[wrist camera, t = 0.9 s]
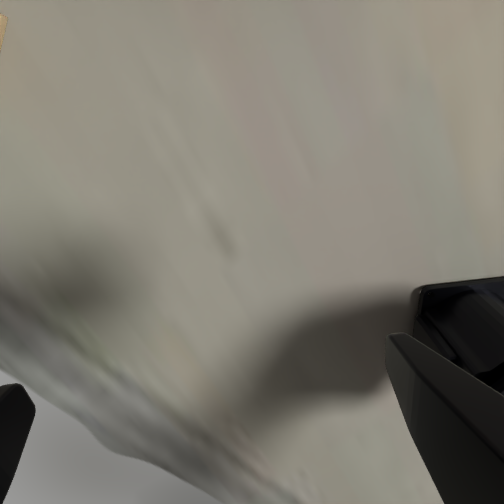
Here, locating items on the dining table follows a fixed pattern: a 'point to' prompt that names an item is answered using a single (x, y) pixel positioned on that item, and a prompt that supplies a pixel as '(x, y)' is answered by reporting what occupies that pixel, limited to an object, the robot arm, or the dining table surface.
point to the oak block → (2, 27)
